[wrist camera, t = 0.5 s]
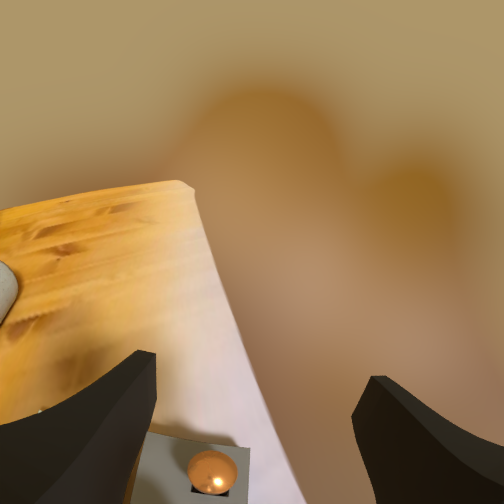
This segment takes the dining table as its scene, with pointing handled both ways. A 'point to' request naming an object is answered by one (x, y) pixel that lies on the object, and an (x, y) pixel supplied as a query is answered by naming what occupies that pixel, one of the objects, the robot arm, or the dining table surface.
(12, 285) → the ceramic mug
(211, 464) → the orange round piece
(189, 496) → the housing
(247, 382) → the dining table surface
